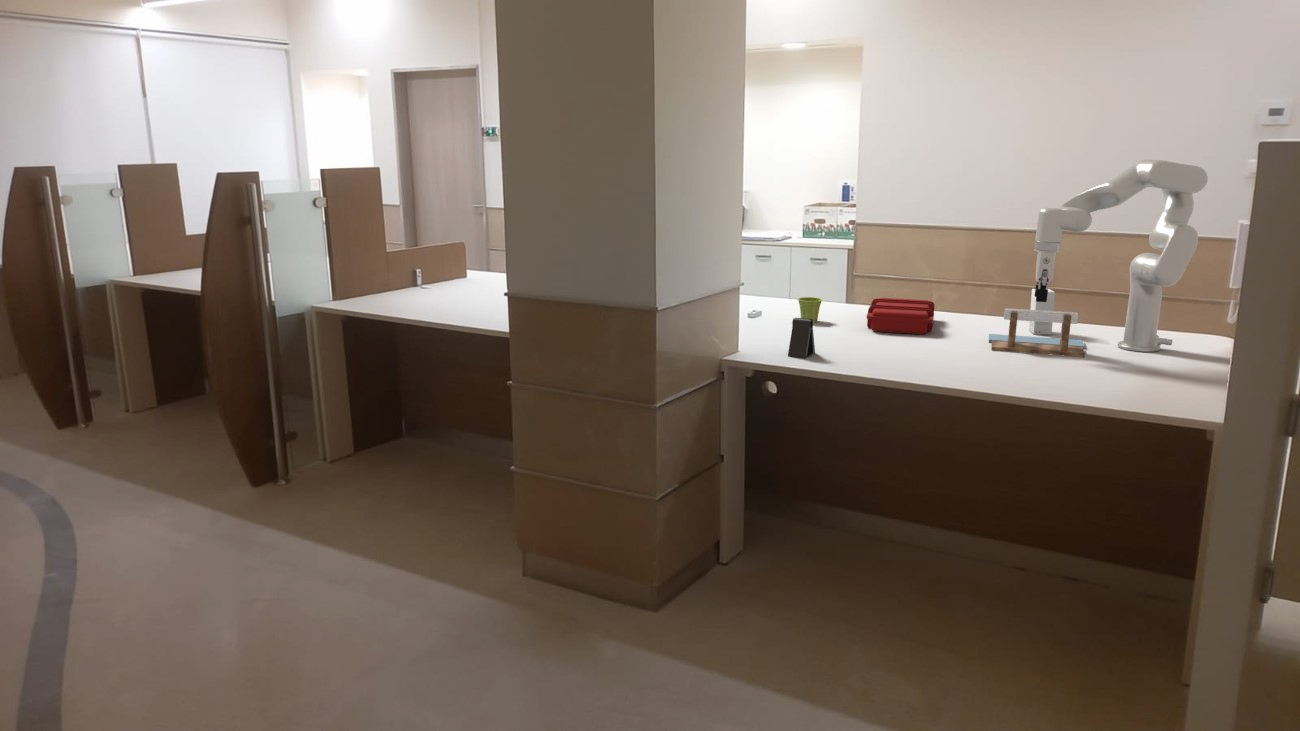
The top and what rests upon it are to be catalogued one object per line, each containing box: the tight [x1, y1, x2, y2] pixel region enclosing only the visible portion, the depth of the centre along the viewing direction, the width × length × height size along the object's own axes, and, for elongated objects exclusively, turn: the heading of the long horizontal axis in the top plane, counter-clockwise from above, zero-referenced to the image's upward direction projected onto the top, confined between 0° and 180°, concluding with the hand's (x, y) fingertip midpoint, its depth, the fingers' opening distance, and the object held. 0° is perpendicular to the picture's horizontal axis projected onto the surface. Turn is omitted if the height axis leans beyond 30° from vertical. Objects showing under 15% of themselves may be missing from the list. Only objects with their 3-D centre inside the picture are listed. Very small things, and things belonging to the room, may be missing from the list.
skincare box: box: [1028, 288, 1056, 336], centre depth 322 cm, size 8×7×16 cm
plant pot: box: [797, 296, 823, 323], centre depth 344 cm, size 9×9×9 cm
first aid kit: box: [866, 297, 935, 335], centre depth 336 cm, size 32×23×9 cm
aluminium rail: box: [1003, 307, 1079, 325], centre depth 294 cm, size 22×3×3 cm, turn 69°
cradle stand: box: [991, 312, 1086, 358], centre depth 296 cm, size 28×10×13 cm, turn 69°
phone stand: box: [787, 317, 816, 359], centre depth 291 cm, size 9×6×12 cm, turn 149°
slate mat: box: [988, 333, 1086, 350], centre depth 308 cm, size 30×10×1 cm, turn 69°
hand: (1040, 299), depth 293 cm, fingers open, 9 cm apart
